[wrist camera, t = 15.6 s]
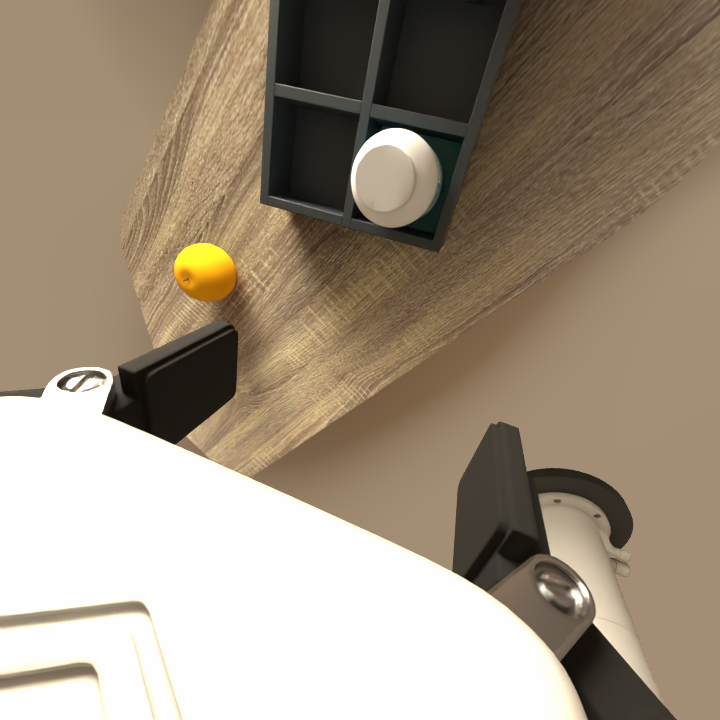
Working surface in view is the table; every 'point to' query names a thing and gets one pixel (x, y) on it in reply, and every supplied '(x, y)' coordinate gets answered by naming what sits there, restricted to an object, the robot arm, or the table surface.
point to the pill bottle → (396, 178)
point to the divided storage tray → (376, 97)
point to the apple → (205, 272)
